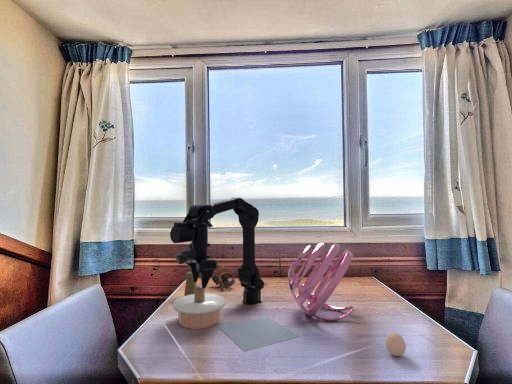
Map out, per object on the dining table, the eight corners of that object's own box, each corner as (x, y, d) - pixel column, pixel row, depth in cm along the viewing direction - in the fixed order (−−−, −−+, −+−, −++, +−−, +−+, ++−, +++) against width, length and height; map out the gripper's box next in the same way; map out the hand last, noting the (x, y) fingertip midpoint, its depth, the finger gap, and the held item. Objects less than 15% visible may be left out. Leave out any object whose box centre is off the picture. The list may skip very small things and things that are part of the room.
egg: (410, 358, 83) (409, 336, 83) (393, 361, 82) (393, 338, 82) (397, 349, 88) (397, 328, 88) (381, 351, 87) (381, 330, 87)
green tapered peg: (194, 299, 133) (194, 273, 133) (181, 298, 134) (181, 273, 135) (200, 295, 139) (200, 270, 139) (187, 294, 140) (187, 270, 141)
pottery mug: (236, 285, 156) (238, 273, 153) (230, 299, 148) (232, 286, 144) (214, 278, 158) (215, 266, 155) (206, 291, 150) (208, 279, 146)
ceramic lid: (214, 294, 121) (214, 278, 121) (233, 307, 105) (233, 289, 105) (167, 301, 112) (167, 284, 112) (181, 317, 96) (181, 297, 97)
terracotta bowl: (211, 312, 118) (211, 296, 118) (226, 324, 106) (226, 307, 106) (174, 319, 111) (174, 302, 111) (185, 333, 99) (185, 314, 99)
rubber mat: (267, 317, 112) (267, 316, 112) (299, 338, 95) (299, 336, 96) (218, 328, 103) (218, 327, 103) (244, 353, 86) (244, 351, 86)
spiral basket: (382, 259, 119) (322, 219, 125) (378, 297, 94) (303, 244, 101) (342, 307, 130) (289, 268, 137) (329, 352, 105) (264, 301, 112)
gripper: (170, 239, 113) (169, 282, 113) (184, 245, 97) (184, 295, 97) (199, 237, 119) (199, 278, 118) (217, 243, 103) (217, 290, 102)
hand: (199, 285), depth 109 cm, fingers open, 9 cm apart
